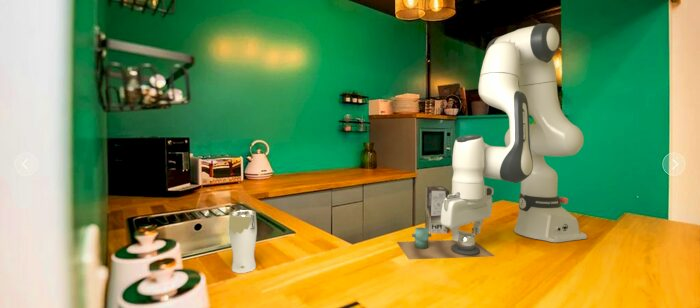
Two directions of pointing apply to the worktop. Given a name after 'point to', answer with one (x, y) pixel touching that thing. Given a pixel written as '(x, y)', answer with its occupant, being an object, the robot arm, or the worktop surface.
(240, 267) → the beer glass
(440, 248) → the base board
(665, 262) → the worktop surface
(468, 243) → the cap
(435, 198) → the coffee box
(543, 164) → the robot arm
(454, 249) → the pad
